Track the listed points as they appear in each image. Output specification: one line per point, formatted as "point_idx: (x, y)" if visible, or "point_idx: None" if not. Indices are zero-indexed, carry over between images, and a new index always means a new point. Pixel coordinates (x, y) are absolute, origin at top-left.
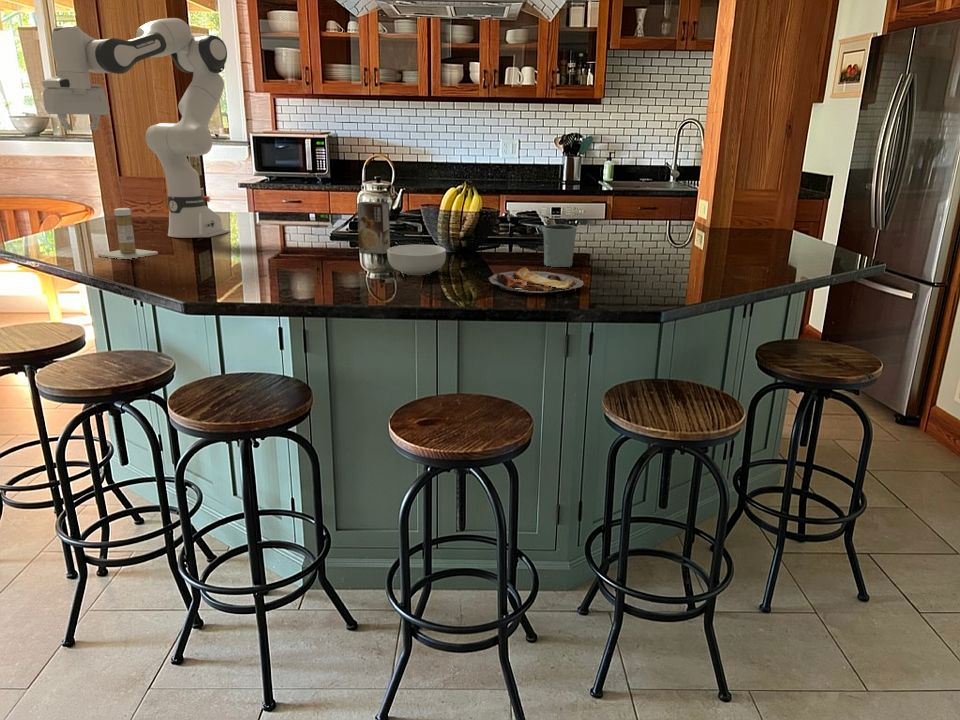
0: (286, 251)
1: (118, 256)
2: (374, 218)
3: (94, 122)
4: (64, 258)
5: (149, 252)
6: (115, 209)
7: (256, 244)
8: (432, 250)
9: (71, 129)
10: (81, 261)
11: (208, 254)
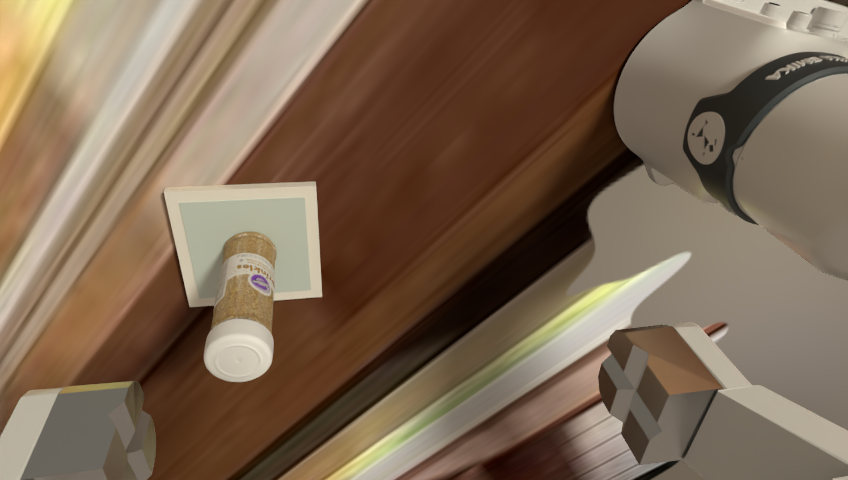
0: (512, 455)
1: (185, 278)
2: None
3: (724, 454)
4: (50, 120)
5: (295, 291)
6: (207, 357)
7: (579, 358)
8: None
9: (151, 445)
10: (71, 217)
11: (394, 379)
